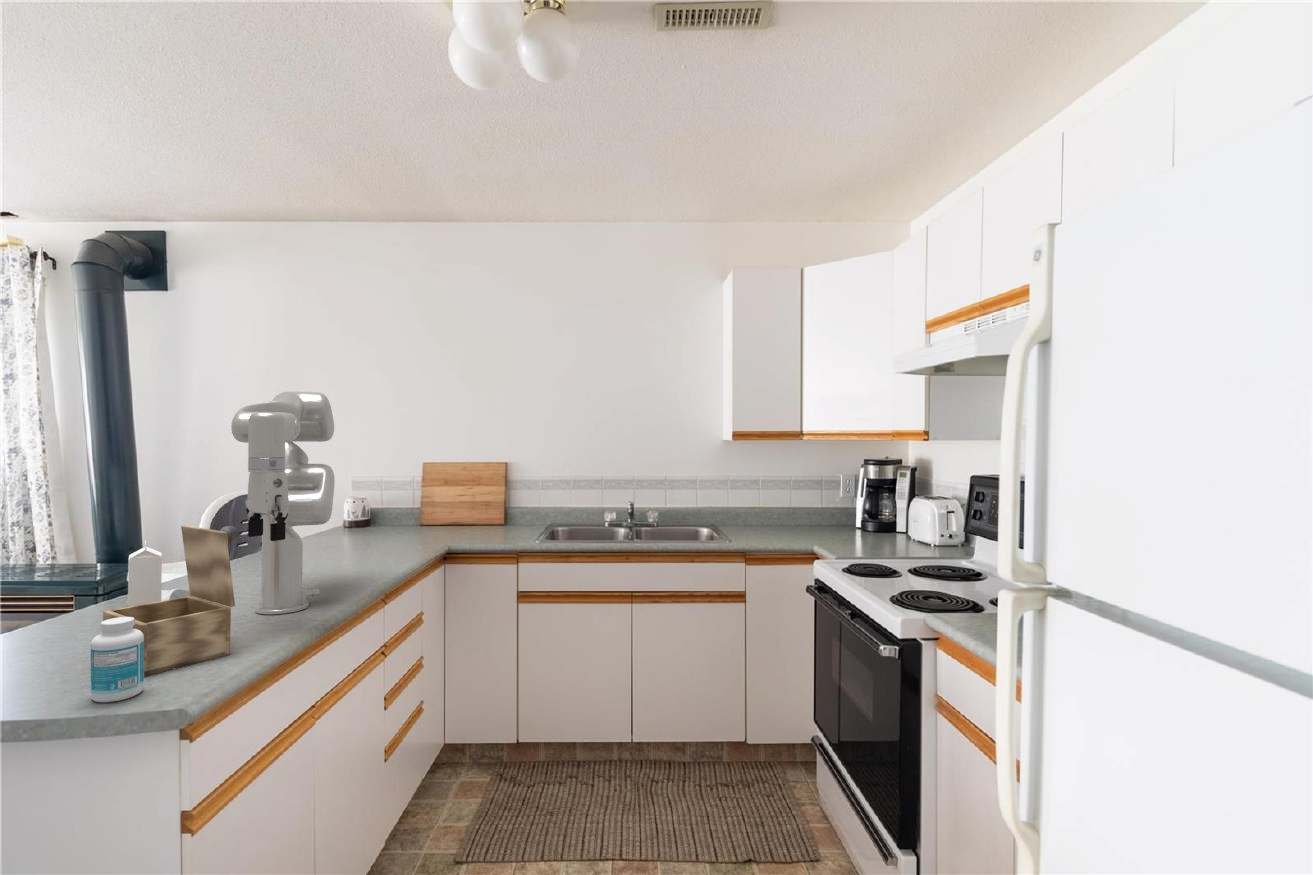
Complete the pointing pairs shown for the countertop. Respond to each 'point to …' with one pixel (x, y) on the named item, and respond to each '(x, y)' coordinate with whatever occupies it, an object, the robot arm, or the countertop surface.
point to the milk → (144, 576)
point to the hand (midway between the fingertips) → (266, 538)
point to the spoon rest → (174, 594)
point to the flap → (209, 563)
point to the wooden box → (179, 631)
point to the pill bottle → (117, 661)
